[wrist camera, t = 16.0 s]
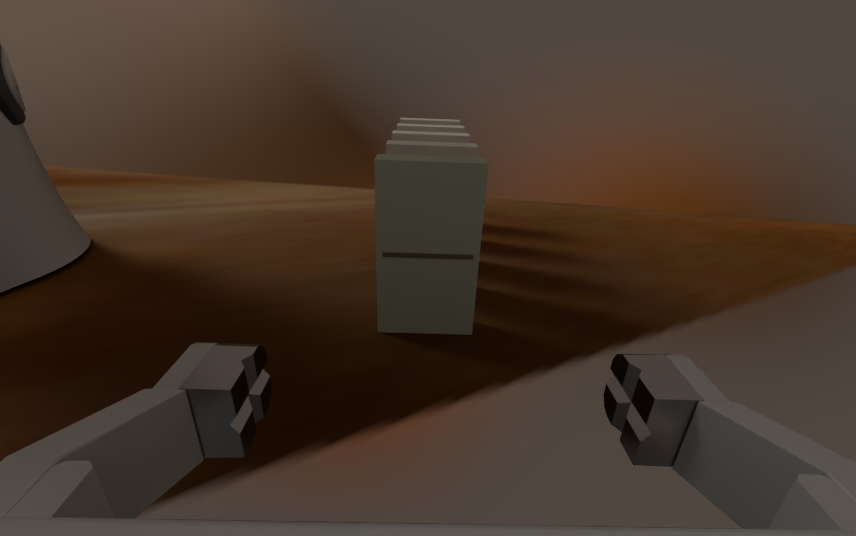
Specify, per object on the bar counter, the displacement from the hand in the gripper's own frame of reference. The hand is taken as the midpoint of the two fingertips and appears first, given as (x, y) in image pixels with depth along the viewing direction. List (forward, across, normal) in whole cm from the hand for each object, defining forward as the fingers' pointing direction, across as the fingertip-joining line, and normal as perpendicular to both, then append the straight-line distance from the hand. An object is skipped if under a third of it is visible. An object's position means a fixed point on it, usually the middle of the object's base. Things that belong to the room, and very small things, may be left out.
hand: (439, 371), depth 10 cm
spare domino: (+11, 0, +6) cm, 13 cm away
